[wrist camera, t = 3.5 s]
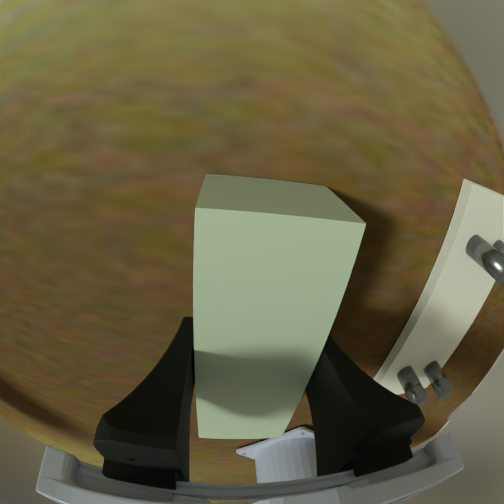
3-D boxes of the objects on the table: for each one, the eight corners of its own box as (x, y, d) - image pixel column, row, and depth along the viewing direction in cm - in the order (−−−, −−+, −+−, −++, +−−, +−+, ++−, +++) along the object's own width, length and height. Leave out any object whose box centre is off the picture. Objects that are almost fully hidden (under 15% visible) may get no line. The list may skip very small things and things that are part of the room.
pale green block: (273, 388, 18) (281, 437, 15) (200, 386, 18) (198, 437, 14) (326, 186, 12) (366, 224, 8) (206, 173, 11) (195, 207, 7)
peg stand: (423, 381, 21) (439, 413, 18) (363, 393, 20) (377, 431, 17) (517, 201, 13) (555, 226, 9) (463, 178, 12) (515, 205, 8)
